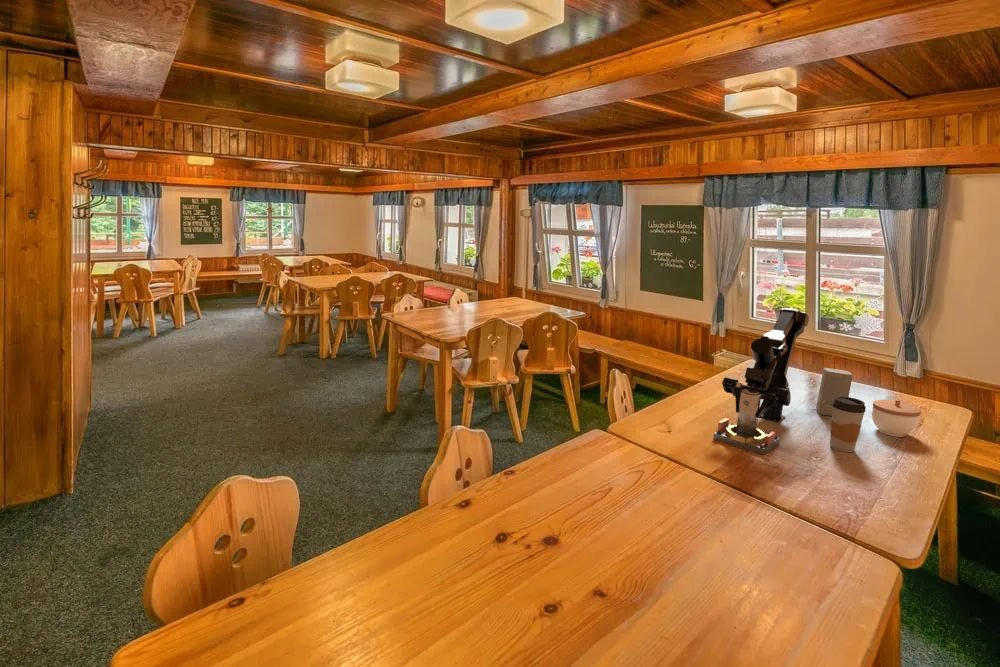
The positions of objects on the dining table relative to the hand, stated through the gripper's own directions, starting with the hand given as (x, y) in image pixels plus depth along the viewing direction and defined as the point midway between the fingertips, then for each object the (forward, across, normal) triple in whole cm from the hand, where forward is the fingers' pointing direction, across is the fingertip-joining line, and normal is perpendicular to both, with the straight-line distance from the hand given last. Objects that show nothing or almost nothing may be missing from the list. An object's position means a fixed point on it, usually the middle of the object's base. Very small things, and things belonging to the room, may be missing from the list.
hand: (746, 414), depth 160 cm
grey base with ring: (+5, 0, +8) cm, 10 cm away
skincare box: (-28, +14, +42) cm, 53 cm away
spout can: (+5, 0, +5) cm, 7 cm away
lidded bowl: (-24, +33, +38) cm, 56 cm away
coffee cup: (-6, +23, +20) cm, 31 cm away
